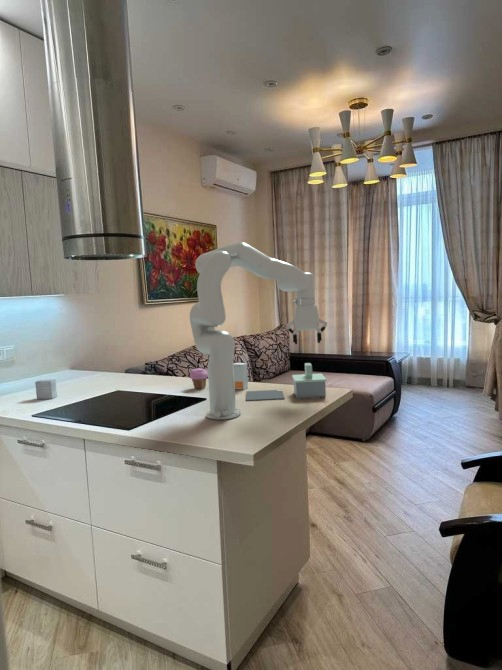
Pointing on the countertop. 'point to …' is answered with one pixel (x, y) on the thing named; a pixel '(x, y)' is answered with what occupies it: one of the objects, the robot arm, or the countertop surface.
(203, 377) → the cupcake
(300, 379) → the lid
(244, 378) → the skincare box
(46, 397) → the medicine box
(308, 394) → the tub
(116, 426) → the countertop surface
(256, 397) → the mat
